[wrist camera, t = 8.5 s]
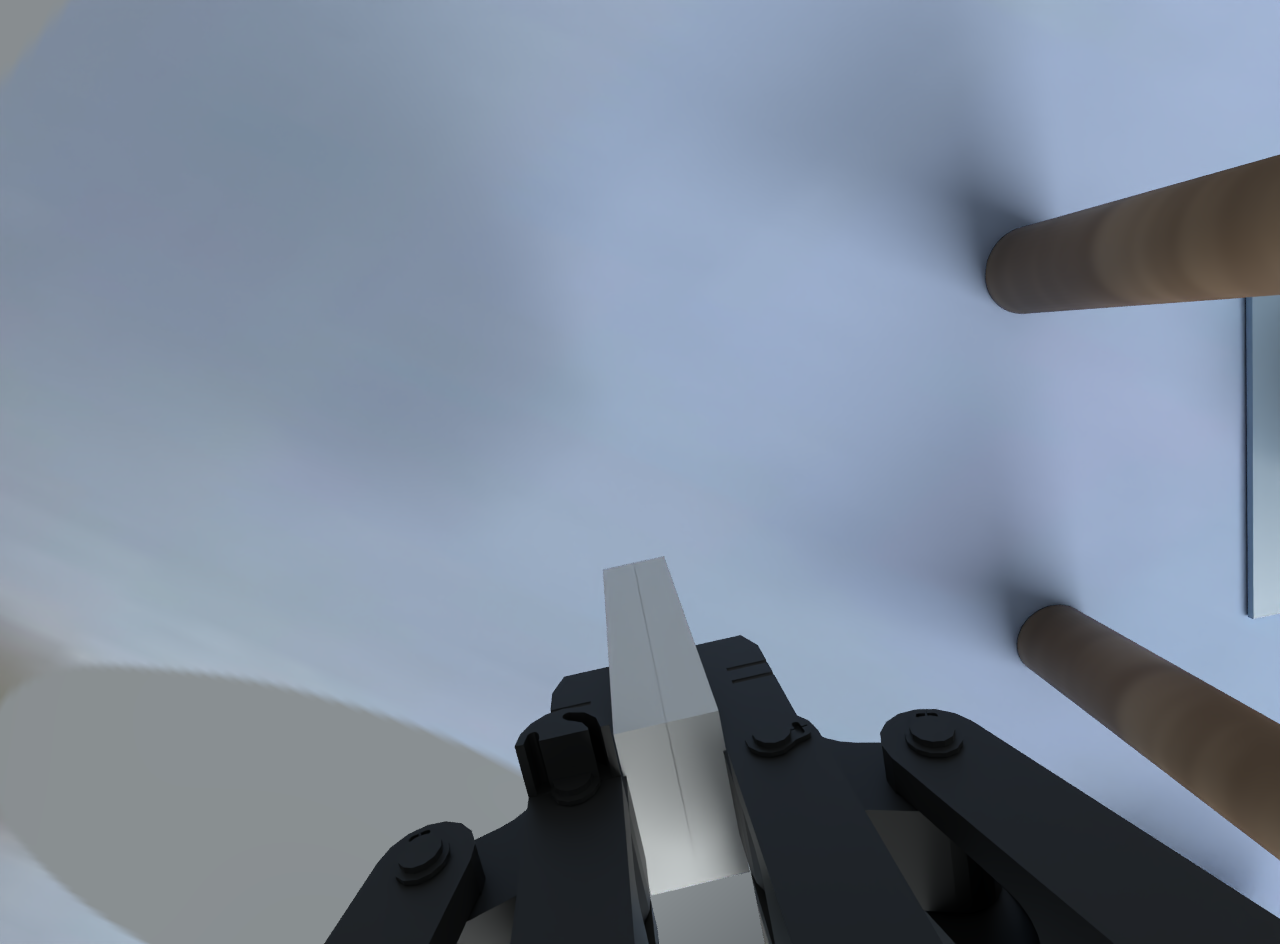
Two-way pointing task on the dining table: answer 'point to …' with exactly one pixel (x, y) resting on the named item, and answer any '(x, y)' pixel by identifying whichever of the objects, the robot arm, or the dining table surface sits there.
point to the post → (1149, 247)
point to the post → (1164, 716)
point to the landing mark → (1263, 454)
